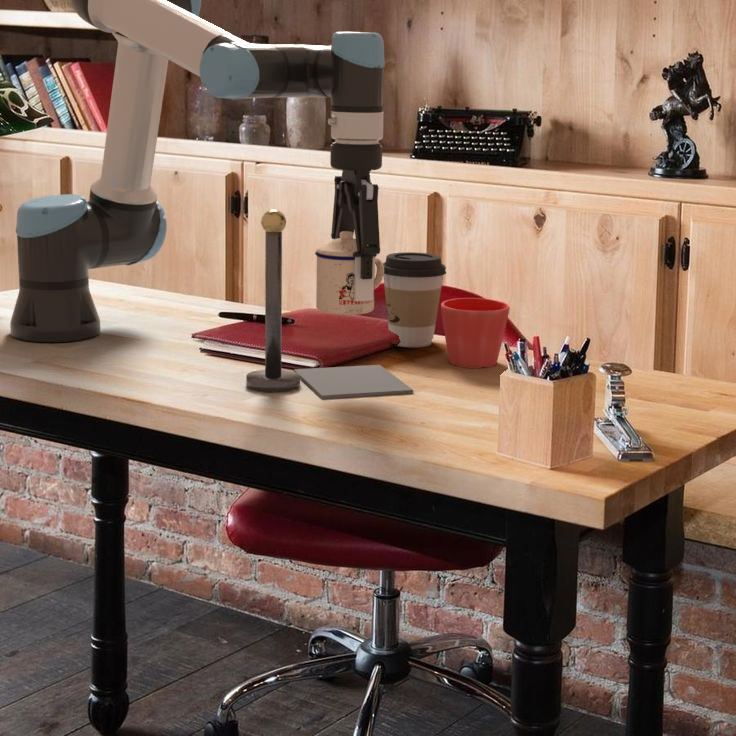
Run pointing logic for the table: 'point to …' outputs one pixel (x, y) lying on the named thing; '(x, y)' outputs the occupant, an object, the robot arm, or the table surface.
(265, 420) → the table surface
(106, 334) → the table surface
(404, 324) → the coffee cup
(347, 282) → the teacup with lid
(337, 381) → the mat
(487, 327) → the flower pot
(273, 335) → the post
